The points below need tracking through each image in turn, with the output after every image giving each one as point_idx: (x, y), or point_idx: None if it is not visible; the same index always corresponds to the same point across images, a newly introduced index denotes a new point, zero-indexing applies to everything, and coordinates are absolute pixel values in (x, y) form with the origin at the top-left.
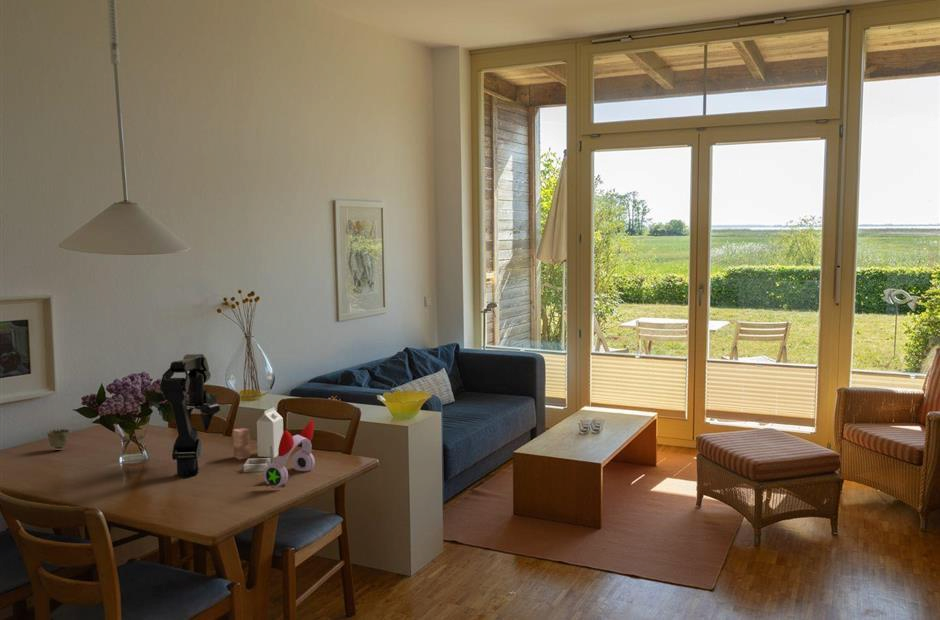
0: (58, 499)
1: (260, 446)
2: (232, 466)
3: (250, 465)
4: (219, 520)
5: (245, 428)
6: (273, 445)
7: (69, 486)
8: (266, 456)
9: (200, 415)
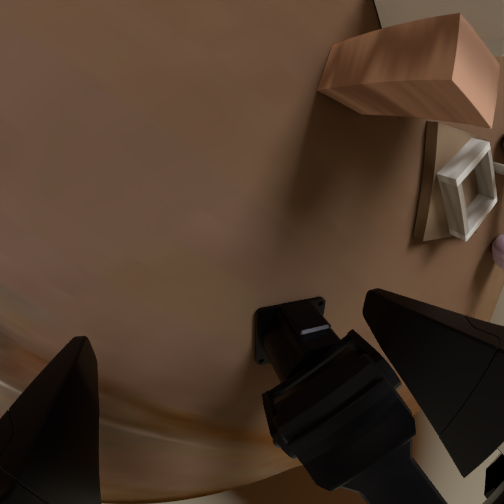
0: (185, 494)
1: None
2: (365, 163)
3: (475, 228)
4: None
5: (475, 33)
6: None
7: (117, 480)
8: None
9: (456, 464)
